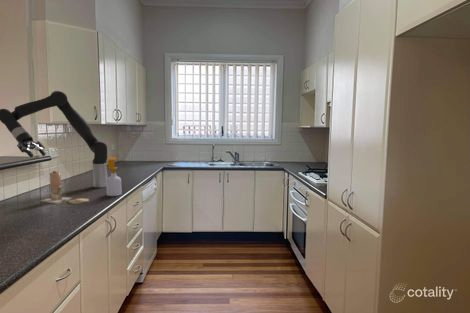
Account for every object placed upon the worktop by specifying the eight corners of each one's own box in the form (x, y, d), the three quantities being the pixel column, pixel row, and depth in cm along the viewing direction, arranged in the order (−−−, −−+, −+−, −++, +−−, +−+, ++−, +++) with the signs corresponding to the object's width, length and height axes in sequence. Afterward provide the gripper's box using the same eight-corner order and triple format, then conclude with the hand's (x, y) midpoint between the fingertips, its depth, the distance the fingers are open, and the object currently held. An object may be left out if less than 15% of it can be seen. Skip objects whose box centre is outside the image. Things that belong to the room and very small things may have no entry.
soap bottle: (124, 193, 203) (122, 156, 200) (117, 196, 194) (116, 158, 191) (111, 193, 204) (109, 156, 201) (104, 196, 195) (102, 158, 192)
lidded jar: (55, 186, 185) (55, 170, 184) (64, 186, 184) (63, 170, 183) (47, 188, 179) (46, 171, 178) (56, 189, 178) (55, 172, 176)
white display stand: (56, 197, 189) (55, 185, 189) (72, 199, 187) (72, 186, 186) (39, 202, 178) (39, 189, 177) (56, 203, 175) (56, 190, 174)
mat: (77, 198, 187) (77, 197, 187) (93, 199, 185) (93, 199, 185) (63, 203, 177) (63, 202, 177) (79, 204, 174) (79, 203, 174)
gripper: (14, 132, 176) (31, 152, 174) (35, 131, 190) (51, 150, 188) (7, 141, 178) (24, 161, 176) (29, 139, 191) (45, 158, 190)
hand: (38, 155), depth 182 cm, fingers open, 8 cm apart
